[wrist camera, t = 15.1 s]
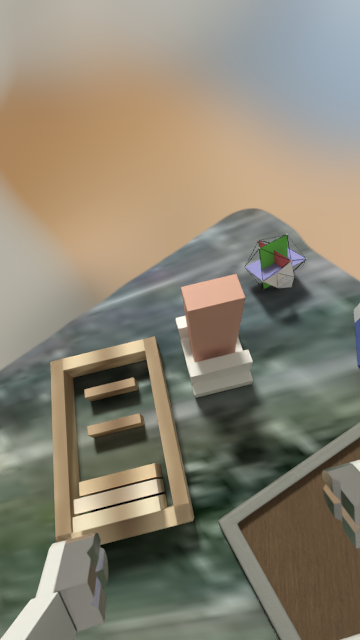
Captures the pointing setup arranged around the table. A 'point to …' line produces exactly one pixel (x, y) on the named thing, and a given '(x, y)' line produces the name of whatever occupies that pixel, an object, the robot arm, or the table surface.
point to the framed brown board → (301, 550)
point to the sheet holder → (215, 367)
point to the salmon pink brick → (213, 316)
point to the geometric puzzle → (275, 263)
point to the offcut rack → (130, 515)
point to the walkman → (357, 330)
